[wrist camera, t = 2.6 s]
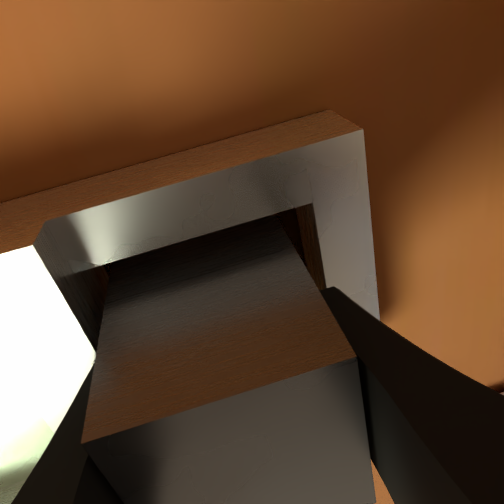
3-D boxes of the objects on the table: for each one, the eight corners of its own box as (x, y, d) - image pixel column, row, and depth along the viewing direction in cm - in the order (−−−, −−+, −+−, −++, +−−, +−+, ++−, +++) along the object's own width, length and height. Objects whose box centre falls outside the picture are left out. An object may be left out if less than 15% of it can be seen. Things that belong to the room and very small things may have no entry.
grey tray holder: (329, 109, 11) (385, 142, 8) (358, 341, 15) (401, 411, 12) (-337, 299, 10) (-511, 403, 7) (-106, 487, 14) (-165, 596, 11)
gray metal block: (267, 200, 11) (357, 357, 6) (293, 317, 14) (376, 502, 9) (114, 245, 11) (80, 444, 6) (166, 356, 13) (173, 570, 8)
